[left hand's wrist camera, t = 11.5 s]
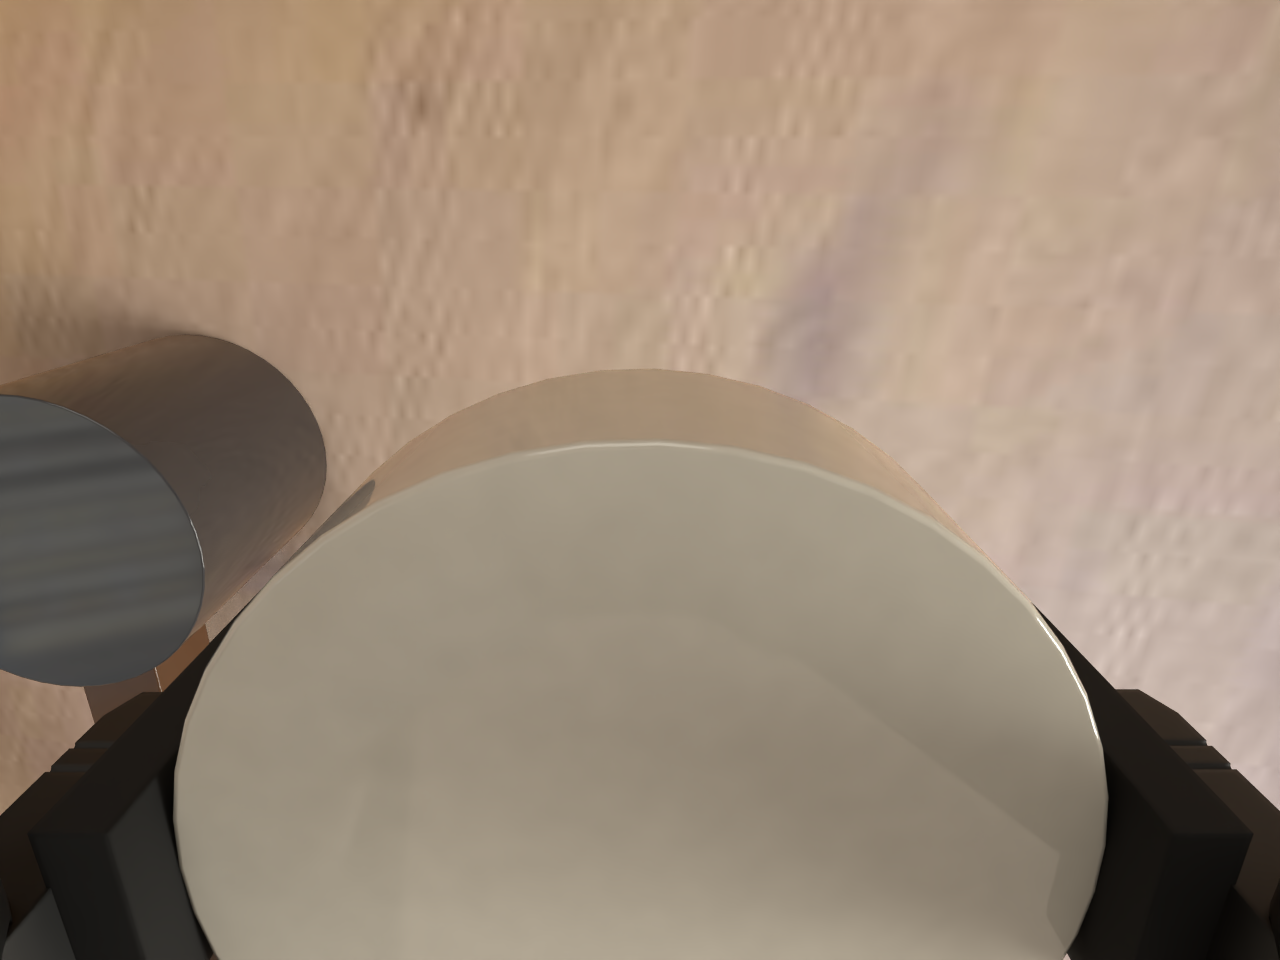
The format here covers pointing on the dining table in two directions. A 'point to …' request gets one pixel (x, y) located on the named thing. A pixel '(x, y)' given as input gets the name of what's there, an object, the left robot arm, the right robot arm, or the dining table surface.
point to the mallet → (143, 507)
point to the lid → (640, 706)
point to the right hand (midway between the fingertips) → (251, 860)
